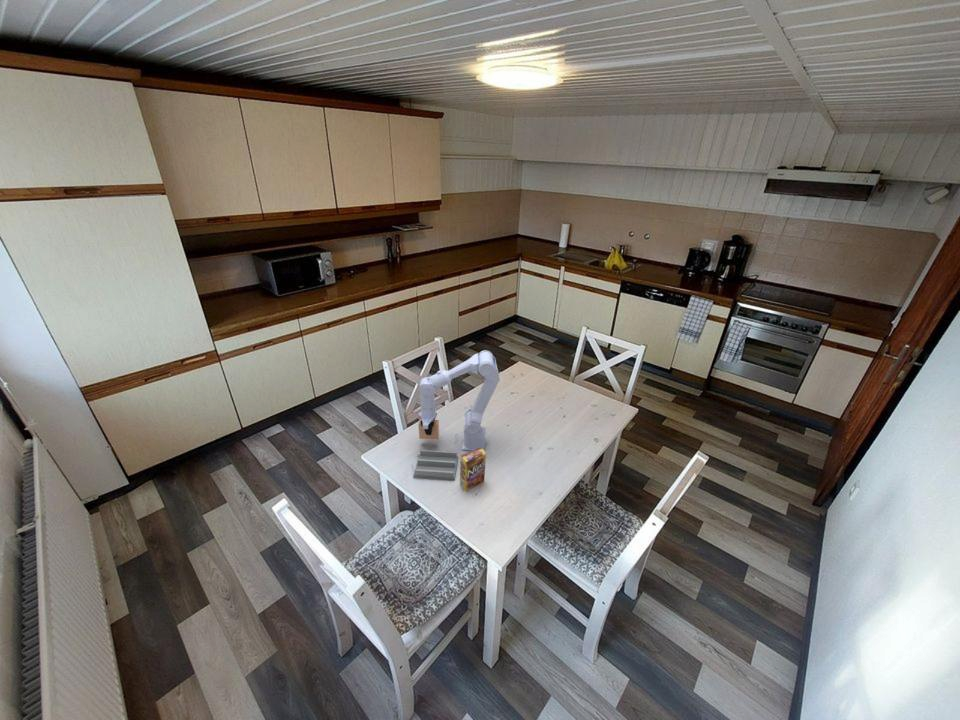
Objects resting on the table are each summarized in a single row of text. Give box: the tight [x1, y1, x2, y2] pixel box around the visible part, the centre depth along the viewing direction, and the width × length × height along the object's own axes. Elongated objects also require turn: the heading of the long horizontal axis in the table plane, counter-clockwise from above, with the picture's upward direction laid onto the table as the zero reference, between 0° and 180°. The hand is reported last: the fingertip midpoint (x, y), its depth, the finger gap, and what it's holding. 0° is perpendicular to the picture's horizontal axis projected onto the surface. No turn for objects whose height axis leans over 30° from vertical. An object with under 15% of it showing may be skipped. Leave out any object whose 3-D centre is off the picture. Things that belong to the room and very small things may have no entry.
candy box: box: [459, 447, 487, 492], centre depth 144 cm, size 9×4×15 cm, turn 123°
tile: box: [417, 418, 440, 441], centre depth 162 cm, size 8×3×8 cm, turn 86°
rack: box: [412, 449, 459, 481], centre depth 154 cm, size 16×12×4 cm
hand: (429, 431), depth 163 cm, fingers closed on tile, 3 cm apart
